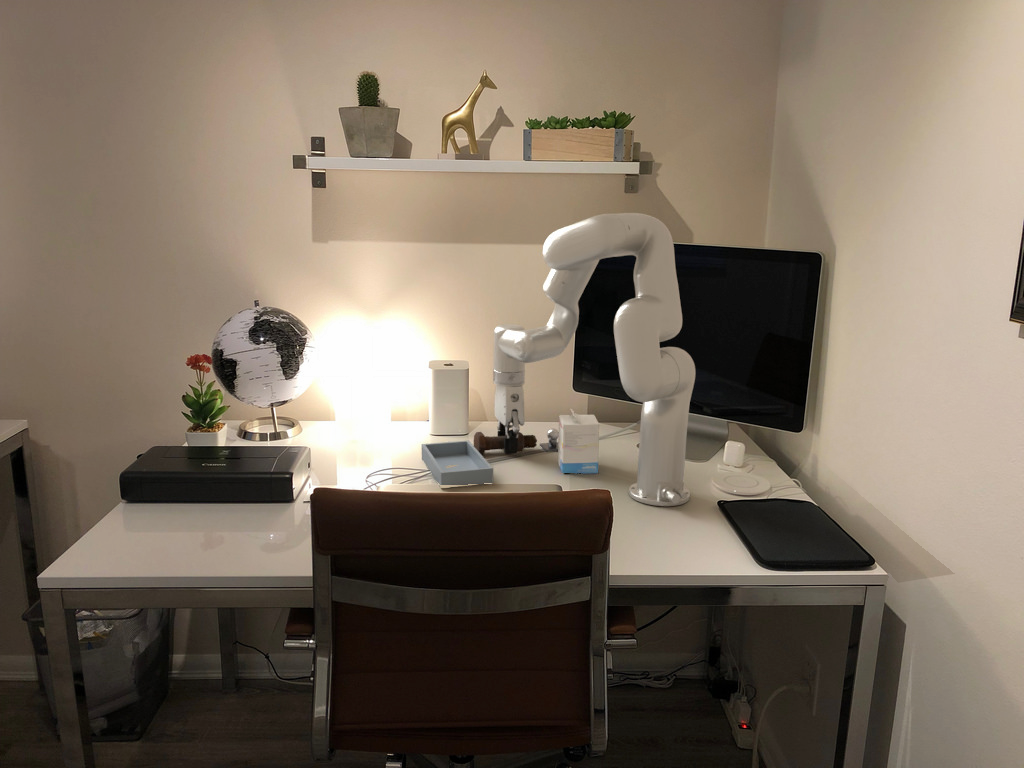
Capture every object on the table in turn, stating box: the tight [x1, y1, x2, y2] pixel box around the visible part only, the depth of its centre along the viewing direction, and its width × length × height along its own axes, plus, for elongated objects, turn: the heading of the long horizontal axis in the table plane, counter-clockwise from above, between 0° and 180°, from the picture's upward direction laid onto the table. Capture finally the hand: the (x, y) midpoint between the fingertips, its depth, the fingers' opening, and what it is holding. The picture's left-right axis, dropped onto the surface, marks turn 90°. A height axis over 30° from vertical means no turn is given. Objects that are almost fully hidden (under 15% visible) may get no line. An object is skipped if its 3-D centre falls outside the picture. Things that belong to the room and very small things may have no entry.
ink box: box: [557, 408, 600, 475], centre depth 189 cm, size 9×8×13 cm
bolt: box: [473, 431, 538, 456], centre depth 200 cm, size 6×5×15 cm
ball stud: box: [539, 428, 559, 453], centre depth 204 cm, size 5×5×5 cm
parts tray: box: [421, 440, 494, 485], centre depth 187 cm, size 20×11×4 cm, turn 18°
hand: (507, 449), depth 201 cm, fingers closed on bolt, 4 cm apart
